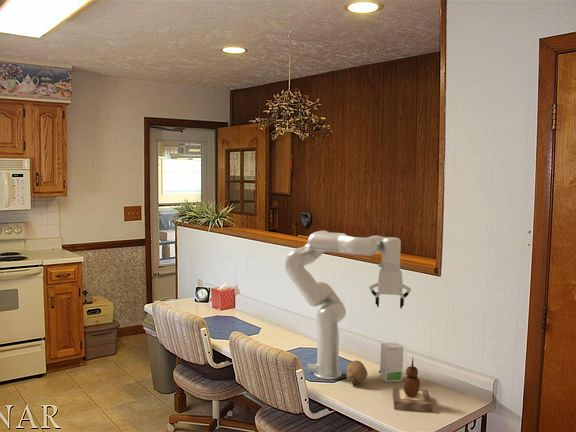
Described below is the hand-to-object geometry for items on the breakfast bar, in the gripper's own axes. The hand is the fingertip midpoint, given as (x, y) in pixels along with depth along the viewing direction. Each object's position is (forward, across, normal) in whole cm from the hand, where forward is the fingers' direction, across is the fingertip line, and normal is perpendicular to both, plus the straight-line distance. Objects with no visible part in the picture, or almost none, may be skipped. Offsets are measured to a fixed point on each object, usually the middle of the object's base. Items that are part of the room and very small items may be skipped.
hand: (389, 307), depth 230 cm
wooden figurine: (+31, +9, -16) cm, 36 cm away
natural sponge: (+34, -13, 0) cm, 37 cm away
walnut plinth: (+34, +9, -16) cm, 39 cm away
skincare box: (+34, +2, +8) cm, 35 cm away
